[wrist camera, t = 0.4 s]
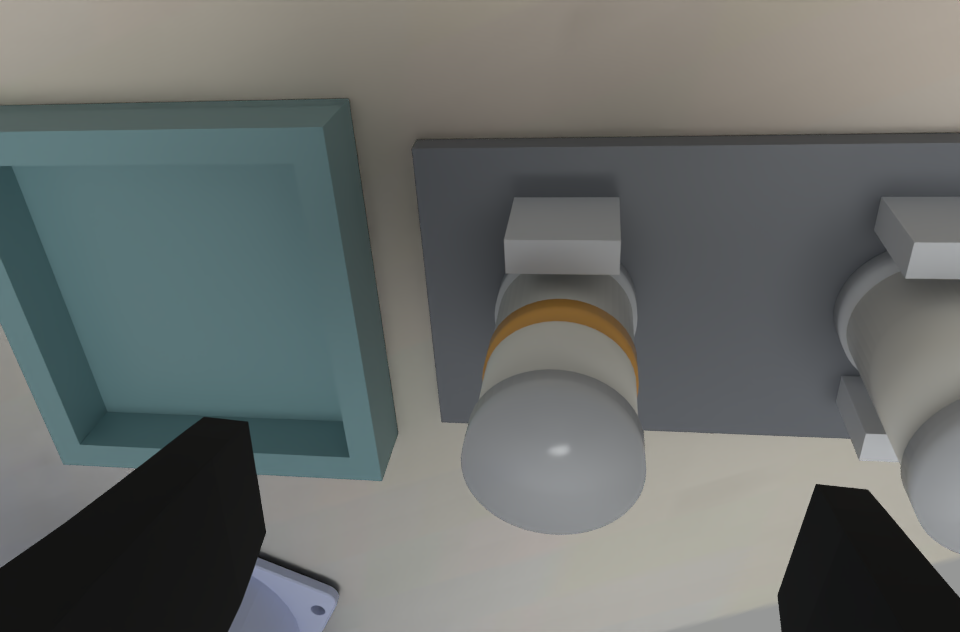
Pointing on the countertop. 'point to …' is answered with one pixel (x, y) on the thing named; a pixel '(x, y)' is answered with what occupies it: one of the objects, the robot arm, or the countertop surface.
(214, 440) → the robot arm
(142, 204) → the tray
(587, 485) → the marked fuse
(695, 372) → the fuse board
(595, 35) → the countertop surface
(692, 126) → the countertop surface
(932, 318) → the cylinder
